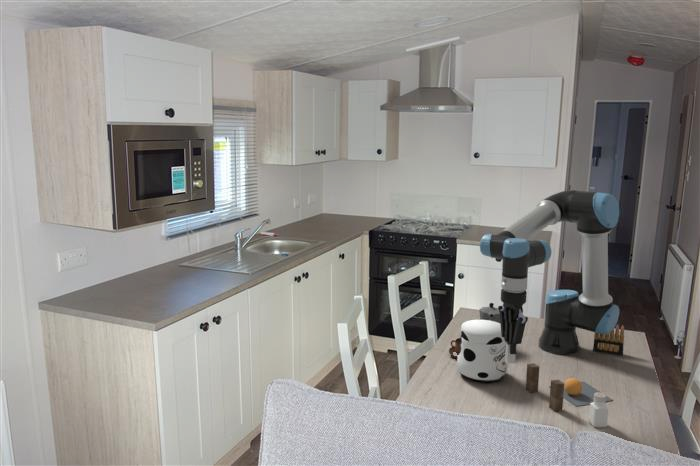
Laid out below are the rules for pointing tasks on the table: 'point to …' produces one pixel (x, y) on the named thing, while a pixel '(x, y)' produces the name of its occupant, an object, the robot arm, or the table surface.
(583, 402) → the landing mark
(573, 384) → the ball
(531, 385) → the post
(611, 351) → the ammunition clip
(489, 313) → the coffeepot
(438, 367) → the table surface
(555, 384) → the post
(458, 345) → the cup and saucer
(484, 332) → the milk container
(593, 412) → the pepper shaker
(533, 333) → the table surface
